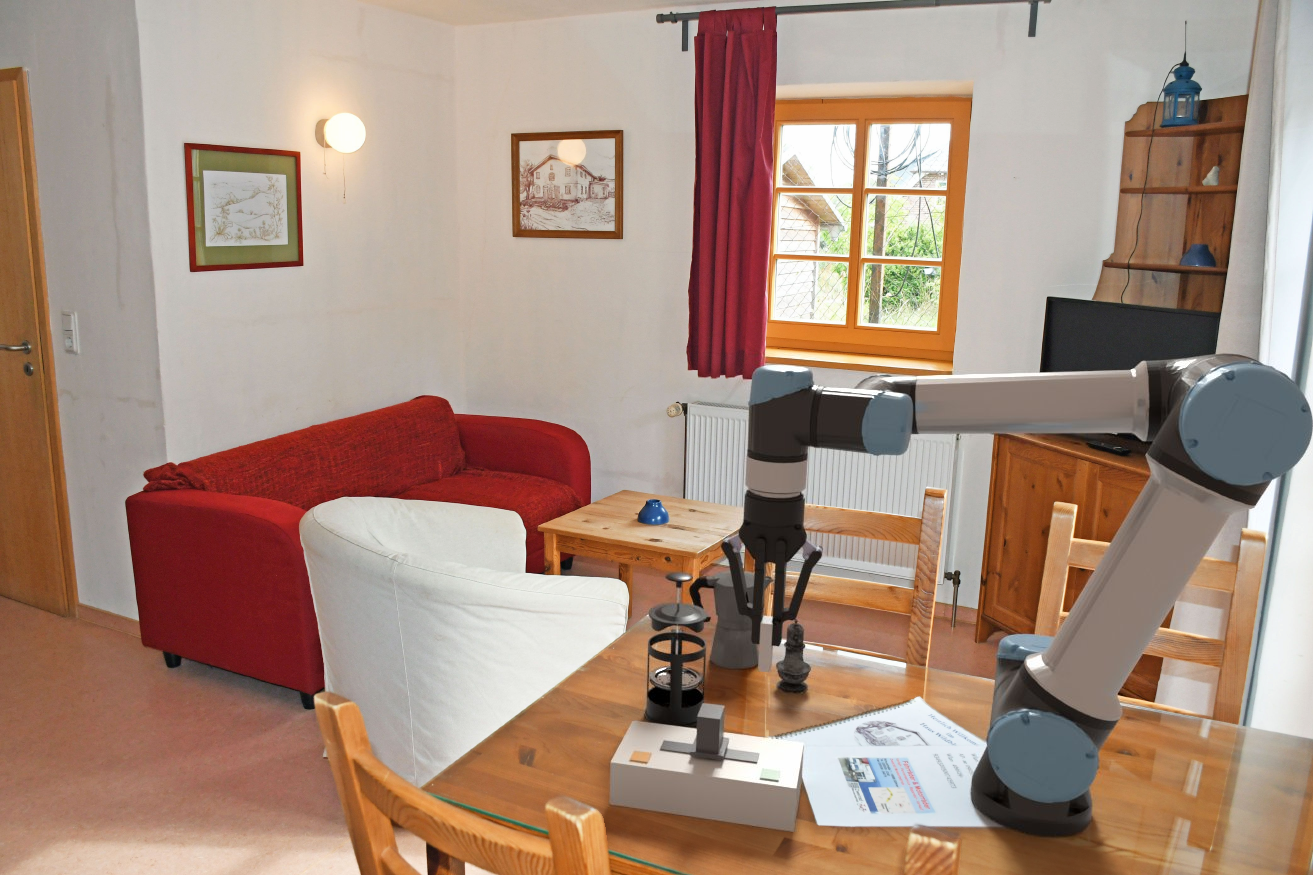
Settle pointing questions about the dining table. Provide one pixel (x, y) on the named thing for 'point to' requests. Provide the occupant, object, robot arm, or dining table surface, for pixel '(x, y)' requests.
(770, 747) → the slider switch box
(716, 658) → the coffeepot
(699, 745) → the grey slider handle
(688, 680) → the french press
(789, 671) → the salt shaker
